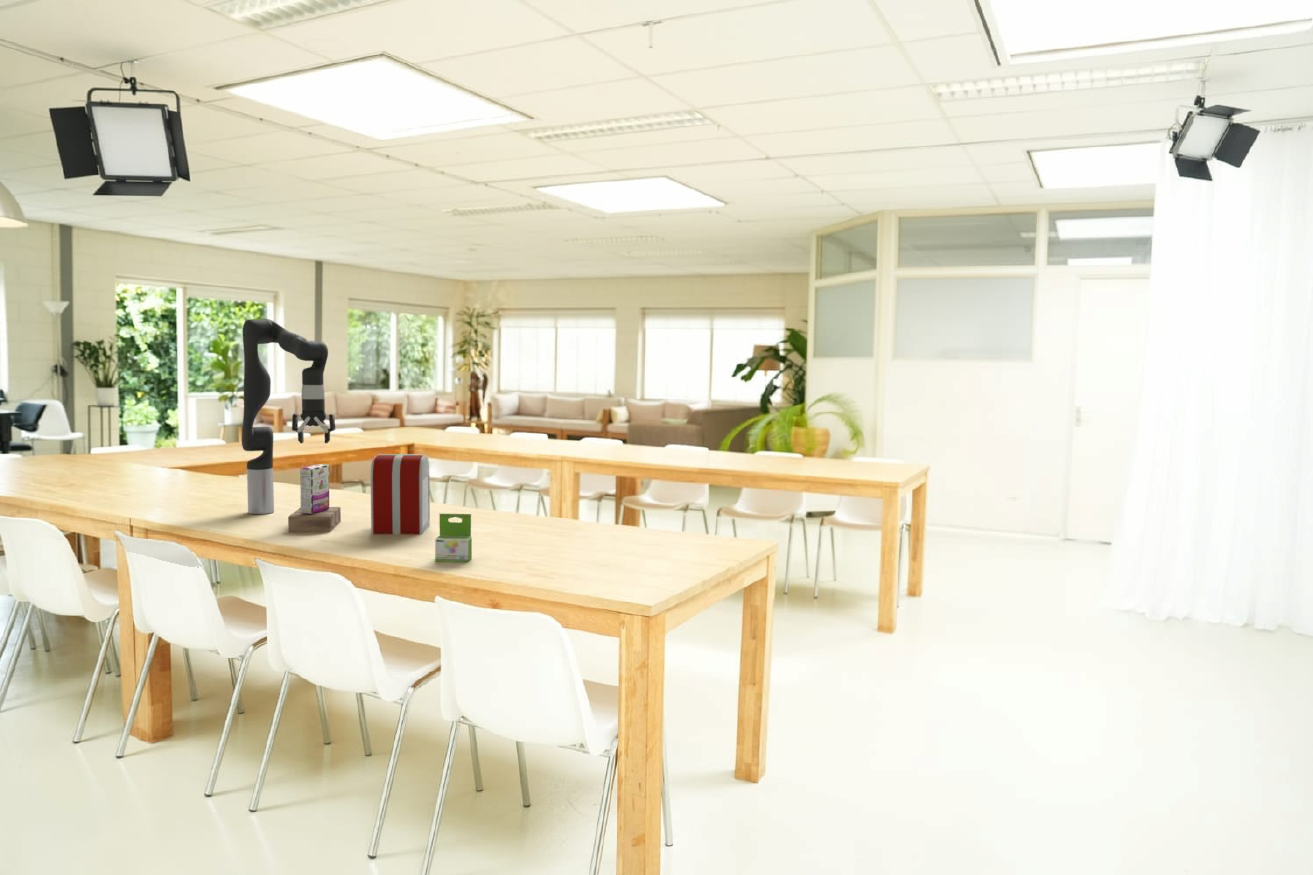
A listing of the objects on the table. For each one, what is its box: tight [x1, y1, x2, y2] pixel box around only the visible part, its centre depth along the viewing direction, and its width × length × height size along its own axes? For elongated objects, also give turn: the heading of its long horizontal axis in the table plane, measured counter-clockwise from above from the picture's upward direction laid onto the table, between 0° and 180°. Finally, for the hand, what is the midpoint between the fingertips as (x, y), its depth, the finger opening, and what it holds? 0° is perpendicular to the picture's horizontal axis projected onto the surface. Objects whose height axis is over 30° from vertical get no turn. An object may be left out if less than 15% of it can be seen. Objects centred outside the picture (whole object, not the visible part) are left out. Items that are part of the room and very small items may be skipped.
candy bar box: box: [299, 463, 330, 514], centre depth 311 cm, size 11×5×16 cm, turn 169°
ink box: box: [434, 513, 473, 563], centre depth 267 cm, size 10×5×14 cm, turn 90°
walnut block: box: [287, 506, 342, 533], centre depth 312 cm, size 18×14×6 cm
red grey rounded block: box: [370, 453, 431, 535], centre depth 309 cm, size 16×18×27 cm
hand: (314, 443), depth 309 cm, fingers open, 8 cm apart
